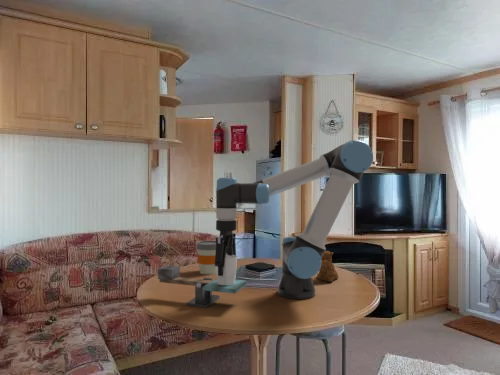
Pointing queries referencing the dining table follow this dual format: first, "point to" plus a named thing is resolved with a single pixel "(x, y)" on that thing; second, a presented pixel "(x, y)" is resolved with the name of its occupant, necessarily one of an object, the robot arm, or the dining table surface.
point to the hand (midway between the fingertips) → (225, 281)
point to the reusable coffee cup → (206, 256)
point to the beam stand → (202, 296)
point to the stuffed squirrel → (327, 268)
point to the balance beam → (196, 280)
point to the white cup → (229, 270)
